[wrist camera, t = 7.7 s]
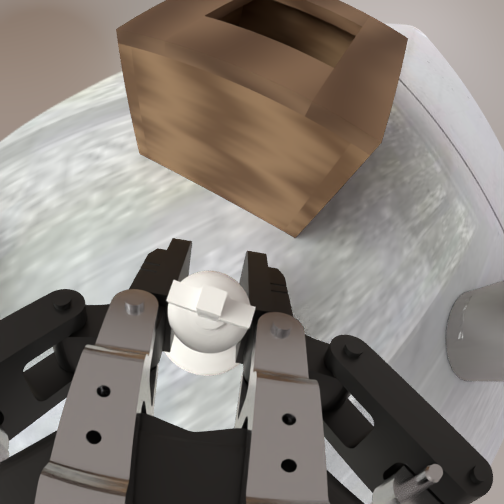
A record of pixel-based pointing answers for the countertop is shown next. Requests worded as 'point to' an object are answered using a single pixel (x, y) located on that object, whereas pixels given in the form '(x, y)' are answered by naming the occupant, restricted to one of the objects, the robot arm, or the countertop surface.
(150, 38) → the walnut box
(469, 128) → the countertop surface
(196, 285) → the chess piece
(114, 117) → the countertop surface
